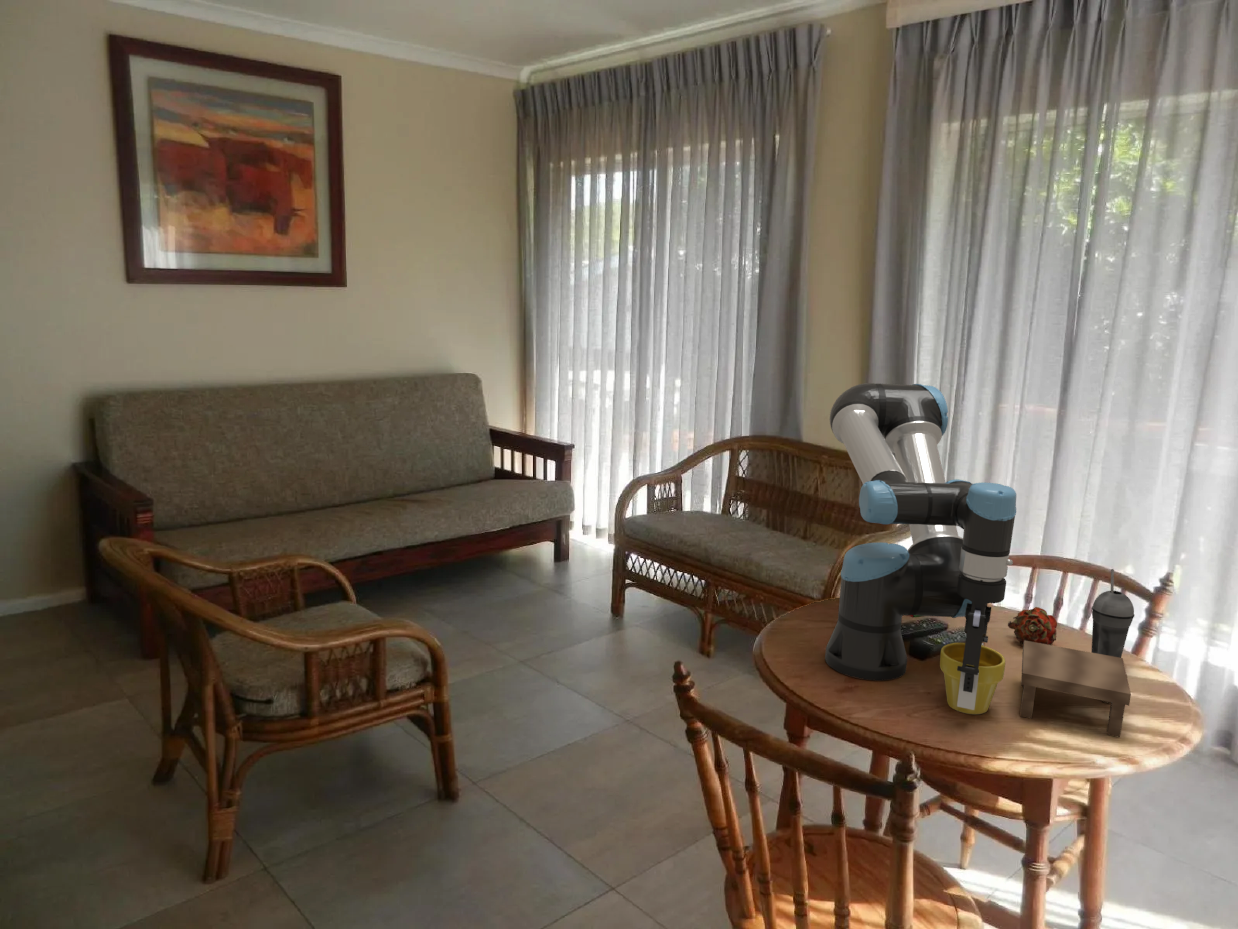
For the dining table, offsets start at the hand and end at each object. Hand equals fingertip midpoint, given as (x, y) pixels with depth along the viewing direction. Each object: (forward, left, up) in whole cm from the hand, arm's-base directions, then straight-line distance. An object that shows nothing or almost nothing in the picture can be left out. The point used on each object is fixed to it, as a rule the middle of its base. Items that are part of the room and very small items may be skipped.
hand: (968, 691), depth 152 cm
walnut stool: (+16, +8, -3) cm, 18 cm away
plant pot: (0, 0, -3) cm, 3 cm away
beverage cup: (+23, +31, -3) cm, 39 cm away
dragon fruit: (+10, +37, -3) cm, 38 cm away
